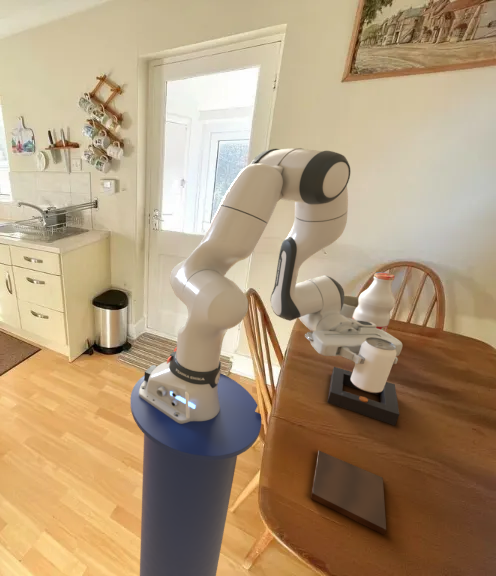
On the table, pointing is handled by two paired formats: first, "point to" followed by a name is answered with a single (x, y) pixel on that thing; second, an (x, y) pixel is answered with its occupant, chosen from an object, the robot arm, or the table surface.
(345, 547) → the table surface
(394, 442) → the table surface
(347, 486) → the board
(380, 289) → the fruit juice
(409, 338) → the table surface
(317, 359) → the table surface
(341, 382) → the processor base
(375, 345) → the can
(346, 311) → the planter
